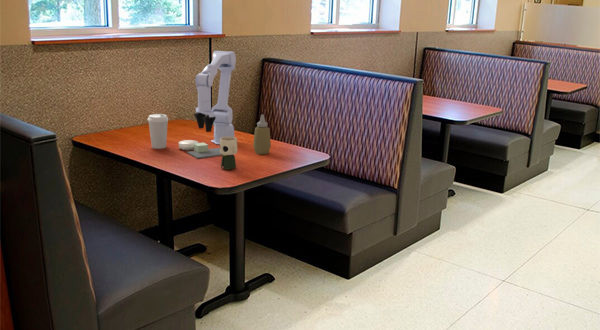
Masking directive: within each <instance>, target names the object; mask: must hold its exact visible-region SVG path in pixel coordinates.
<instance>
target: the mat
mask: <svg viewBox="0 0 600 330" xmlns="http://www.w3.org/2000/svg"><path fill="white" fill-rule="evenodd" d="M186 154H188V155H190V156H192V157H193V158H195V159H197V160H199V159H207V158H212V157H222V156H223V154H221V153H220V147H215V148H208V151H207V152H196V151H195V150H188V151H186Z"/></svg>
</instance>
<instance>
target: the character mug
mask: <svg viewBox="0 0 600 330" xmlns="http://www.w3.org/2000/svg"><path fill="white" fill-rule="evenodd" d="M219 148H220V153H221V154H223V155H222V156H221V163H220V168H221V169H223V170H233V169H235V168H237V161H236V156H235V155H236V154H237V153H238V138H237V137H235V136H234V137H221V138H220V144H219Z"/></svg>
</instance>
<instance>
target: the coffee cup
mask: <svg viewBox="0 0 600 330" xmlns="http://www.w3.org/2000/svg"><path fill="white" fill-rule="evenodd" d="M168 121H169V117H168V115H167V114H163V113H154V114H150V115H148V117H147V122H148V126H149V134H150V141H151V143H150V144H151V148H152V149H155V150H156V149H157V150H161V149H166V148H167V137H168V136H167V135H168Z"/></svg>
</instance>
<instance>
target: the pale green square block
mask: <svg viewBox="0 0 600 330" xmlns="http://www.w3.org/2000/svg"><path fill="white" fill-rule="evenodd" d="M208 149H209V144H207V143H206V142H198V143H195V144H194V150H193V151H196V152H207V151H208Z"/></svg>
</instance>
